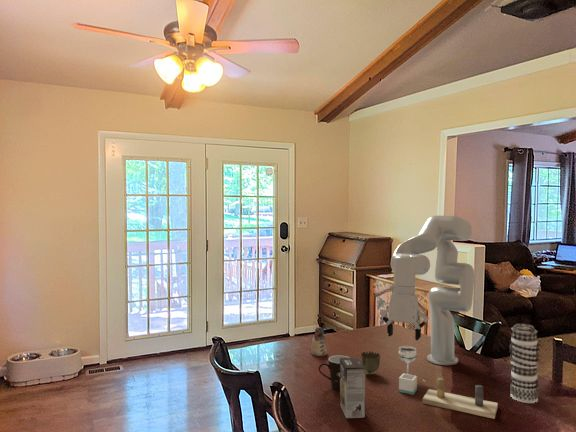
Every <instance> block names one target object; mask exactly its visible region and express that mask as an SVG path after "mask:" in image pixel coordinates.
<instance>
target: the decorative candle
mask: <svg viewBox="0 0 576 432" xmlns="http://www.w3.org/2000/svg"><path fill="white" fill-rule="evenodd" d="M510 329H511V331H512V332H511V337H510V338H511V339H510V340H509V343H510V344H509V345H508V347H509V354H510V355H509V359H510V360H509V362H510V364H511V372H510V374H511V375H510V376H509V377H510V381H509V382H510V383H511V384H510V385H509V388H510V389H509V391H510V395H509V396H510V398H511V397H512V398H511V399H512V400H514V401H516V400H517V402H520V403H524V404H535V402H536V403H537V402H539V398H538V397H539V389H538V387H539V384H538V383H539V379H538V374H537V371H538V370H537V369H538V367H539V364H538V362H539V361H540V359H539V358H538V357H540V354H539V353H537V352H539V351H540V348H539V347H540V346H541V345H540V343H538V338H537V337H538V336H537V335H538V332H539V331H538V330H536V329H535V326H533V325H532V324H531V325H530V324H527V323H516V324H514V325H513V326H512V327H510Z"/></svg>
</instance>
